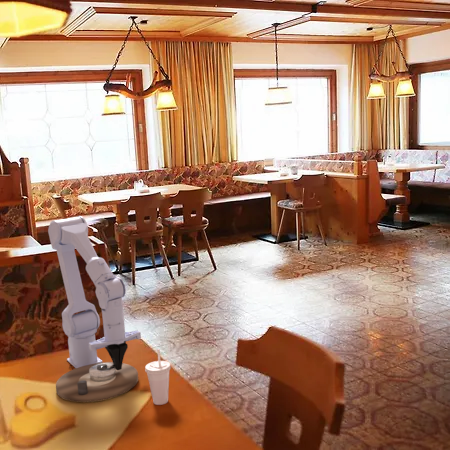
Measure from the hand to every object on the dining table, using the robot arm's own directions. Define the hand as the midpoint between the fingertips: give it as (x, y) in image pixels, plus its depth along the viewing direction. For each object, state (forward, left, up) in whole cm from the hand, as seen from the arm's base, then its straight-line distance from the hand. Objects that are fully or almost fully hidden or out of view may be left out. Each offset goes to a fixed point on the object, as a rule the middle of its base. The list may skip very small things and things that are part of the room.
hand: (118, 368), depth 165 cm
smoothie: (+20, +3, -3) cm, 20 cm away
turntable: (0, -6, -3) cm, 7 cm away
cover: (0, -5, -1) cm, 5 cm away
